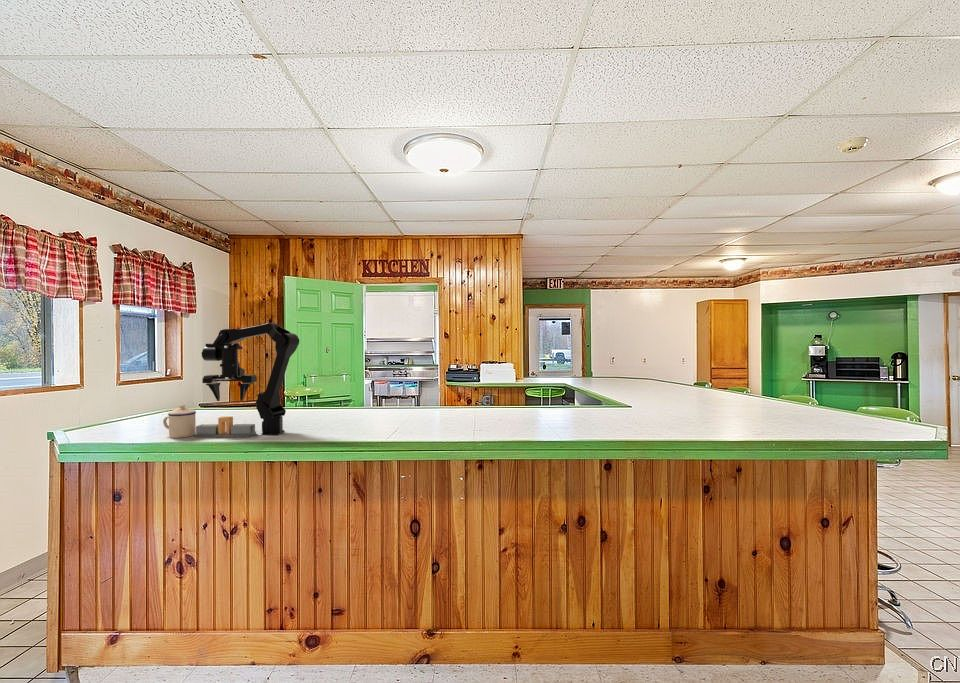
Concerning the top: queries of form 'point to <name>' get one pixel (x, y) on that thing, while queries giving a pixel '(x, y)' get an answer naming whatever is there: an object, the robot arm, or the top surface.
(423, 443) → the top surface
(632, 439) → the top surface
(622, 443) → the top surface
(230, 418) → the clip
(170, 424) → the teacup with lid
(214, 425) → the rail
